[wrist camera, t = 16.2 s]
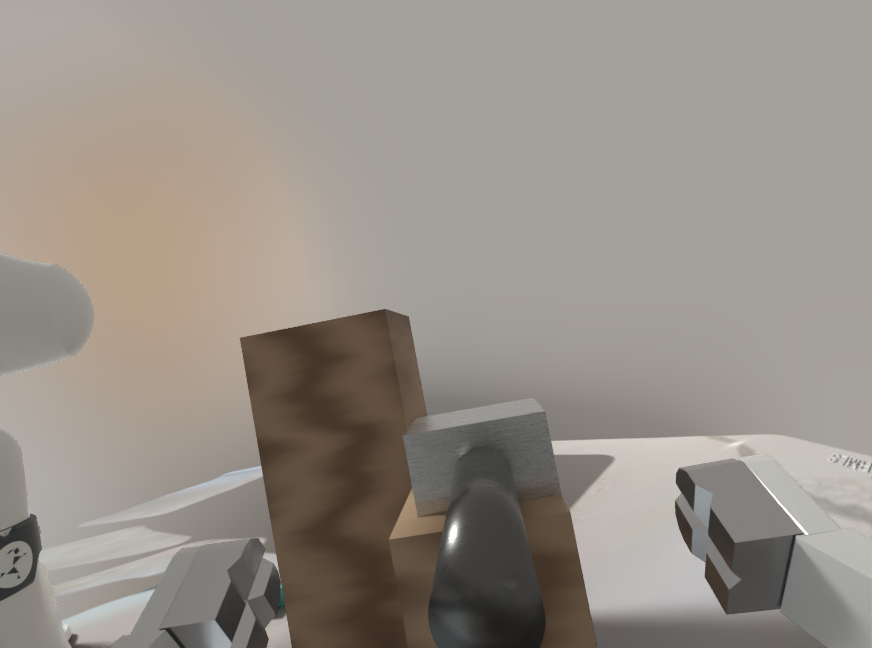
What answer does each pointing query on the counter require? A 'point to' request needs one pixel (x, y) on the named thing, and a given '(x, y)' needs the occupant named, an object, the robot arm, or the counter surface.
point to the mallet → (483, 520)
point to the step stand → (370, 491)
